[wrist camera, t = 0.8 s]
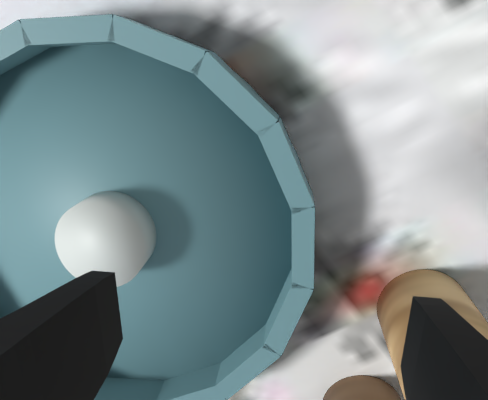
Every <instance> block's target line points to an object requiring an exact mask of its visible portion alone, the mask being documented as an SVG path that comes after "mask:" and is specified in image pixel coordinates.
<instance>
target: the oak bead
mask: <svg viewBox="0 0 488 400" xmlns="http://www.w3.org/2000/svg"><path fill="white" fill-rule="evenodd" d="M413 296H418V297H431V298H441V299H442V300H443V301H445V302H446V303H447V304H448V305H449V306H451V307H452V308H453V309H454V310H455V311H456V312H457V313H458V314H460V315H461V316H462V317H463V318H464V319H465V320H466V321H467V322H468V323H470V324H471V325H472V326H473V327H474V328H475V329H476V330H477V331H478V332H479V333H481V334H482V335H483V336H484V337H485V338H486V339H487V340H488V322H487V321H486V320H485V318H484V317H483V316H482V314H481V313H480V312H479V310H478V309H477V308H476V306H475V305H474V304H473V302H472V301H471V300H470V298H469V297H468V295H467V294H466V293H465V291H464V290H463V289H462V287H461V286H460V285H459V284H458V283H457V282H456V281H455V280H454V279H453V278H451V277H450V276H448V275H446V274H444V273H442V272H439V271H435V270H427V269H422V270H413V271H409V272H406V273H404V274H401V275H399V276H398V277H396V278H394V279H393V280H392V281H391V282H389V283H388V284H387V285H386V287H385V288H384V289H383V291H382V292H381V294H380V296H379V299H378V303H377V315H378V319H379V322H380V325H381V328H382V331H383V334H384V337H385V340H386V344H387V347H388V350H389V353H390V356H391V359H392V362H393V365H394V368H395V371H396V374H397V377H398V380H399V384H400V387H401V390H402V393H403V396H404V399H405V400H406V397H405V391H404V385H403V379H402V373H401V367H400V366H401V360H402V355H403V349H404V343H405V338H406V332H407V326H408V321H409V315H410V310H411V304H412V298H413Z"/></svg>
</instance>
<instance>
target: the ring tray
mask: <svg viewBox="0 0 488 400" xmlns="http://www.w3.org/2000/svg"><path fill="white" fill-rule="evenodd" d="M314 239H315V204H314V197H313V193H312V190H311V188H310V186H309V183H308V181H307V179H306V176H305V174H304V172H303V169H302V167H301V164H300V161H299V158H298V155H297V153H296V151H295V149H294V147H293V145H292V143H291V141H290V139H289V136H288V134H287V132H286V129H285V127H284V125H283V122H282V120H281V117H279V115H278V114H277V113H276V112H275V111H274V110H273V109H272V108H271V107H270V106H269V105H268V104H267V103H266V102H265V101H264V100H263V99H262V98H261V97H260V96H259V95H258V93H257V92H256V91H255V90H254V89H253V88H252V87H251V86H250V85H249V84H248V83H247V82H246V81H245V80H244V79H243V78H241V77H240V76H239V75H238V74H237V73H236V72H234V71H233V70H232V69H231V68H230V67H229V66H228V65H227V64H226V63H225V62H224V61H223V60H222V59H221V58H220V57H219V56H218V55H217V54H216V53H213V51H210V50H207V49H205V48H202V47H200V46H197V45H195V44H192V43H190V42H187V41H185V40H182V39H180V38H178V37H176V36H173V35H170V34H167V33H164V32H162V31H159V30H157V29H154V28H151V27H149V26H146V25H144V24H141V23H139V22H136V21H134V20H131V19H128V18H124V17H121V16H117V15H113V14H107V15H89V16H71V17H52V18H34V19H20V20H17V21H15V22H14V23H12V24H10V25H9V26H7V27H5V28H3V29H2V30H0V318H2V317H4V316H6V315H8V314H10V313H12V312H14V311H16V310H18V309H20V308H22V307H23V306H25V305H27V304H29V303H31V302H33V301H34V300H36V299H38V298H40V297H42V296H44V295H46V294H47V293H49V292H51V291H53V290H55V289H56V288H58V287H60V286H62V285H64V284H66V283H68V282H69V281H71V280H73V279H75V278H77V277H79V276H81V275H83V274H85V273H88V272H90V271H103V272H115V278H116V286H117V294H118V302H119V310H120V318H121V326H122V334H123V340H122V343H121V345H120V348H119V350H118V353H117V355H116V358H115V360H114V362H113V364H112V367H111V369H110V371H109V374H108V376H107V377H106V379H105V381H104V383H103V385H102V386H101V388H100V390H99V392H98V393H97V395H96V397H95V399H94V400H226V399H227V400H228V399H229V398H230V397H231V396H233V395H234V394H235V393H236V392H238V391H239V390H240V389H241V388H242V387H244V386H245V385H246V384H247V383H249V382H250V381H251V380H252V379H254V378H255V377H256V376H257V375H259V374H260V373H261V372H262V371H263V370H265V369H266V368H267V367H268V366H270V365H271V364H272V363H273V362H275V361H276V360H277V359H278V358H280V357H281V356H282V353H283V351H284V349H285V347H286V345H287V343H288V341H289V339H290V337H291V335H292V333H293V331H294V329H295V327H296V325H297V323H298V321H299V319H300V317H301V315H302V313H303V311H304V309H305V306H306V304H307V302H308V300H309V298H310V296H311V294H312V292H313V289H314Z"/></svg>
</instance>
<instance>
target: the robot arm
mask: <svg viewBox="0 0 488 400" xmlns="http://www.w3.org/2000/svg"><path fill="white" fill-rule="evenodd" d="M122 340H123V334H122V326H121V318H120V310H119V302H118V294H117V286H116V278H115V272H103V271H90V272H88V273H85V274H83V275H81V276H79V277H77V278H75V279H73V280H71V281H69V282H68V283H66V284H64V285H62V286H60V287H58V288H56V289H55V290H53V291H51V292H49V293H47V294H46V295H44V296H42V297H40V298H38V299H36V300H34V301H33V302H31V303H29V304H27V305H25V306H23V307H22V308H20V309H18V310H16V311H14V312H12V313H10V314H8V315H6V316H4V317H2V318H0V400H94V399H95V397H96V395H97V393H98V392H99V390H100V388H101V386H102V385H103V383H104V381H105V379H106V377H107V376H108V374H109V371H110V369H111V367H112V364H113V362H114V360H115V358H116V355H117V353H118V350H119V348H120V345H121V343H122ZM400 367H401V373H402V379H403V385H404V391H405V397H406V400H488V340H487V339H486V338H485V337H484V336H483V335H482V334H481V333H479V332H478V331H477V330H476V329H475V328H474V327H473V326H472V325H471V324H470V323H468V322H467V321H466V320H465V319H464V318H463V317H462V316H461V315H460V314H458V313H457V312H456V311H455V310H454V309H453V308H452V307H451V306H449V305H448V304H447V303H446V302H445V301H443V300H442V299H441V298H431V297H418V296H413V298H412V304H411V310H410V315H409V321H408V326H407V332H406V338H405V343H404V349H403V355H402V360H401V366H400Z"/></svg>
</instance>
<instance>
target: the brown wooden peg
mask: <svg viewBox="0 0 488 400" xmlns="http://www.w3.org/2000/svg"><path fill="white" fill-rule="evenodd" d="M323 400H401V399H400V396H399V394H398V393H397V391H396V390H395V389H394V388H393V387H392V386H391V385H390V384H388V383H387V382H385V381H383V380H381V379H379V378H376V377H372V376H365V375H358V376H351V377H347V378H344V379H342V380H340V381H338V382H336V383H335V384H333V385H332V386H331V387H330V388H329V389H328V390H327V392H326V394H325V396H324V398H323Z"/></svg>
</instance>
